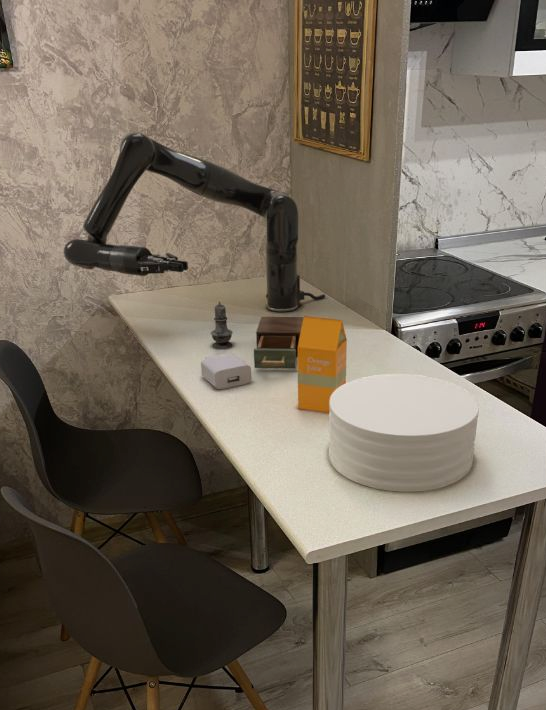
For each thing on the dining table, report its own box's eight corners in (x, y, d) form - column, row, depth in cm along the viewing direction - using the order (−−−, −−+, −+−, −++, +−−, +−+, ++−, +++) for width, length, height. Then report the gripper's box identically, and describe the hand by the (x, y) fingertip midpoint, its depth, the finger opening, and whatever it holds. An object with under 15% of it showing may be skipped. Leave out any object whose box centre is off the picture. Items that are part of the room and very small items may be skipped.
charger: (226, 362, 192) (251, 382, 181) (192, 369, 188) (216, 390, 177) (225, 345, 190) (250, 364, 178) (191, 351, 186) (214, 371, 174)
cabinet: (300, 356, 195) (300, 332, 192) (257, 355, 196) (256, 331, 193) (303, 339, 206) (303, 316, 203) (262, 339, 207) (261, 316, 204)
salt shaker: (232, 349, 200) (229, 304, 194) (210, 349, 201) (207, 305, 194) (234, 341, 205) (231, 298, 199) (212, 341, 206) (209, 298, 200)
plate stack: (405, 509, 131) (410, 451, 126) (299, 453, 150) (299, 400, 144) (501, 457, 147) (509, 403, 141) (395, 412, 165) (398, 363, 160)
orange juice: (335, 414, 165) (336, 325, 155) (297, 408, 168) (296, 321, 158) (345, 399, 171) (347, 314, 161) (309, 394, 174) (308, 310, 164)
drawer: (294, 376, 182) (293, 357, 179) (252, 375, 182) (251, 357, 180) (298, 352, 196) (298, 334, 193) (259, 351, 196) (258, 334, 194)
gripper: (113, 251, 196) (168, 258, 189) (144, 240, 207) (197, 246, 200) (116, 280, 200) (171, 288, 193) (147, 268, 211) (200, 274, 204)
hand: (184, 266), depth 197 cm, fingers closed
